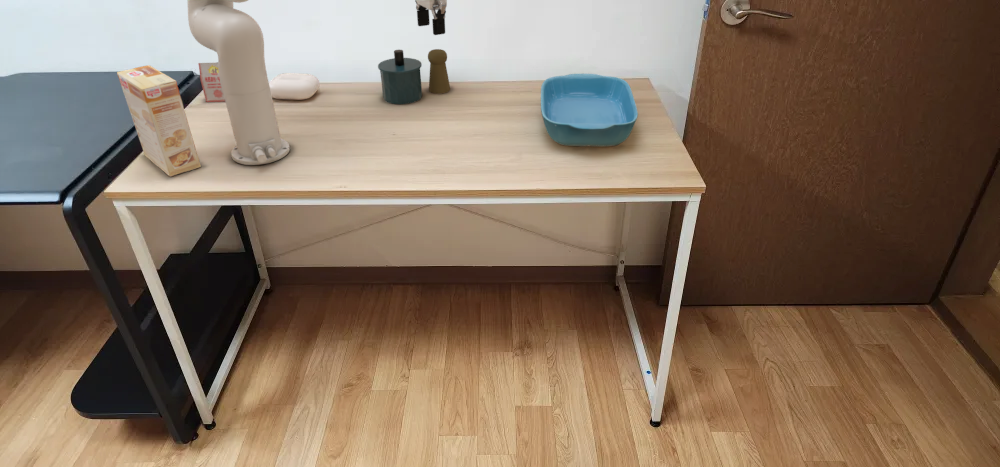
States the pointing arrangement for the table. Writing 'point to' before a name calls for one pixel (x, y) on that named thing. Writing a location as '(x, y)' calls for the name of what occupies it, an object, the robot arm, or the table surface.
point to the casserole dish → (588, 109)
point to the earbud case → (294, 86)
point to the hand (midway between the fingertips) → (431, 29)
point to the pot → (401, 87)
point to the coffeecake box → (159, 119)
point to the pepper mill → (438, 72)
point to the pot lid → (399, 64)
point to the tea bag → (211, 82)
